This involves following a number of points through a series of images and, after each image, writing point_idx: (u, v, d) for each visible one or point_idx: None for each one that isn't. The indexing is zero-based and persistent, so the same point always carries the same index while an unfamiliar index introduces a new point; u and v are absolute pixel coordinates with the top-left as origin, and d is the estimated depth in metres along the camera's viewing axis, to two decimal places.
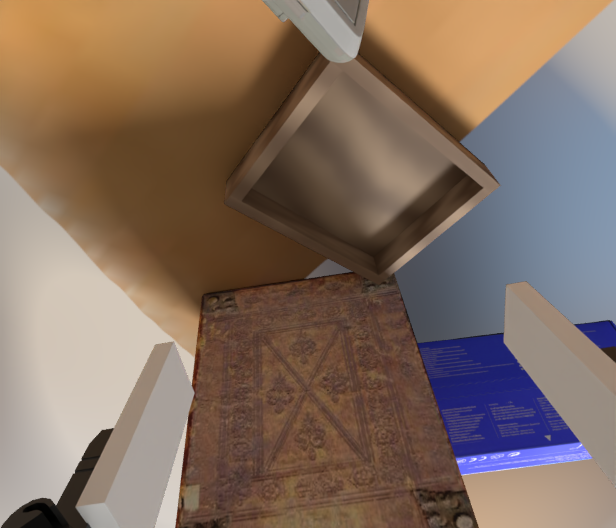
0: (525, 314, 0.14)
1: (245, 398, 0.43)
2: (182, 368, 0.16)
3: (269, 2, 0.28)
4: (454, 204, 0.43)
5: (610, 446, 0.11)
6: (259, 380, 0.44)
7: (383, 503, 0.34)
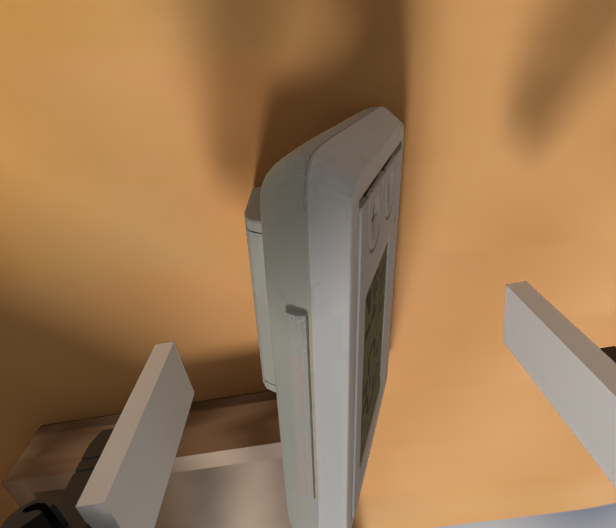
0: (526, 314, 0.14)
1: None
2: (182, 368, 0.16)
3: (266, 365, 0.19)
4: None
5: (610, 446, 0.11)
6: None
7: None
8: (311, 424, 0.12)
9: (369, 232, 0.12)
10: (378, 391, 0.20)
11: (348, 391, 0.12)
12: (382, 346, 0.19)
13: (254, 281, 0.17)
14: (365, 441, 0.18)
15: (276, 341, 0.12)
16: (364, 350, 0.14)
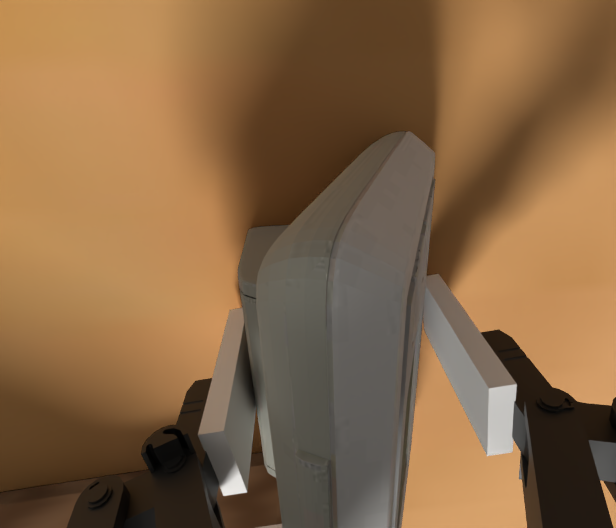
0: (432, 303, 0.16)
1: None
2: None
3: (268, 449, 0.15)
4: None
5: (479, 414, 0.12)
6: None
7: None
8: None
9: (413, 324, 0.08)
10: (405, 472, 0.17)
11: None
12: (410, 420, 0.16)
13: (251, 353, 0.14)
14: None
15: (283, 480, 0.08)
16: None
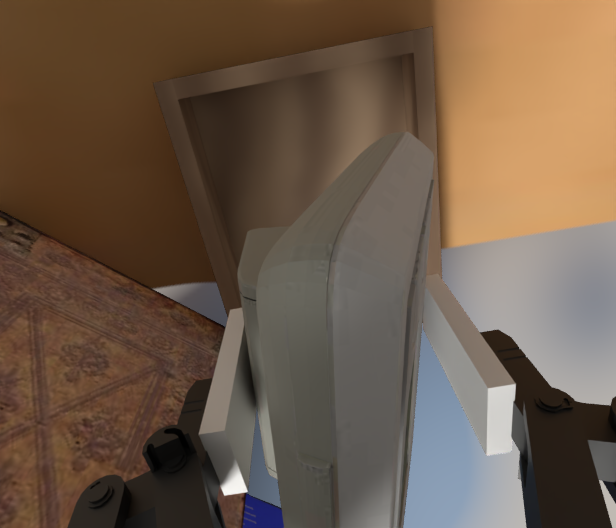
0: (431, 303, 0.16)
1: None
2: None
3: (269, 451, 0.15)
4: None
5: (478, 414, 0.12)
6: None
7: None
8: None
9: (414, 326, 0.08)
10: (406, 473, 0.17)
11: None
12: (410, 421, 0.16)
13: (252, 355, 0.13)
14: None
15: (284, 482, 0.08)
16: None
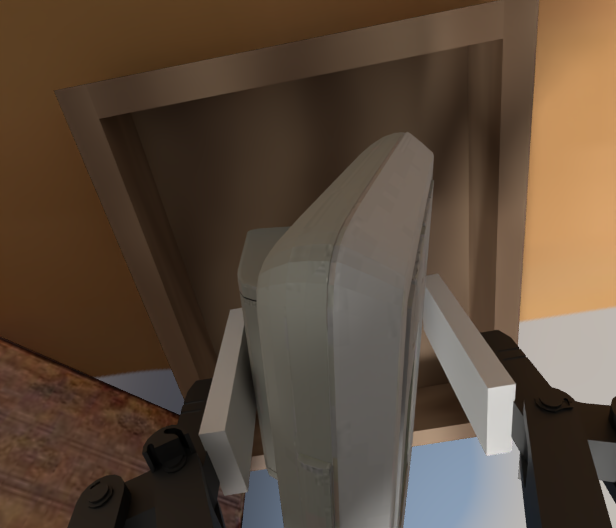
0: (431, 303, 0.16)
1: None
2: None
3: (269, 451, 0.15)
4: (428, 415, 0.24)
5: (478, 414, 0.12)
6: None
7: None
8: None
9: (414, 326, 0.08)
10: (406, 473, 0.17)
11: None
12: (410, 421, 0.16)
13: (252, 356, 0.13)
14: None
15: (284, 483, 0.08)
16: None
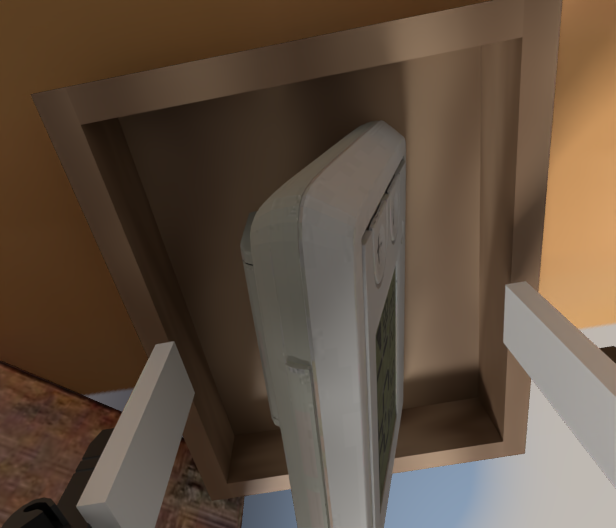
0: (525, 314, 0.14)
1: None
2: (182, 368, 0.16)
3: (274, 401, 0.18)
4: (435, 436, 0.22)
5: (609, 446, 0.11)
6: None
7: None
8: (323, 481, 0.11)
9: (375, 267, 0.10)
10: (395, 421, 0.19)
11: (362, 444, 0.11)
12: (396, 374, 0.18)
13: (255, 315, 0.16)
14: (384, 481, 0.16)
15: (279, 393, 0.11)
16: (377, 389, 0.13)
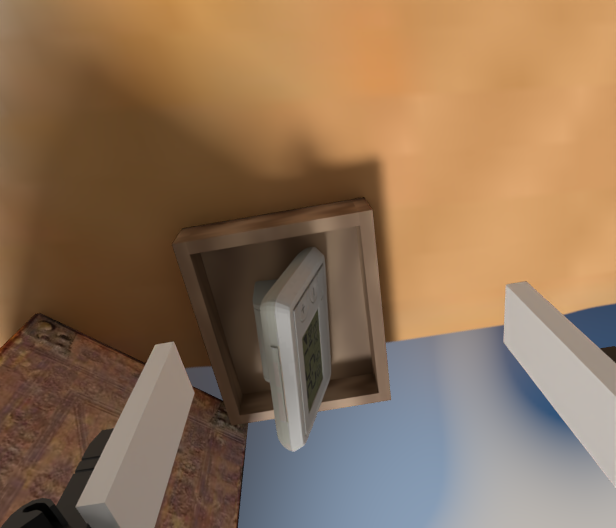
0: (526, 314, 0.14)
1: (3, 467, 0.29)
2: (182, 368, 0.16)
3: (265, 369, 0.39)
4: (347, 391, 0.44)
5: (610, 446, 0.11)
6: (38, 453, 0.31)
7: None
8: (282, 388, 0.33)
9: (300, 315, 0.32)
10: (322, 380, 0.40)
11: (295, 374, 0.32)
12: (321, 357, 0.40)
13: (258, 330, 0.37)
14: (312, 402, 0.38)
15: (268, 357, 0.32)
16: (305, 359, 0.34)
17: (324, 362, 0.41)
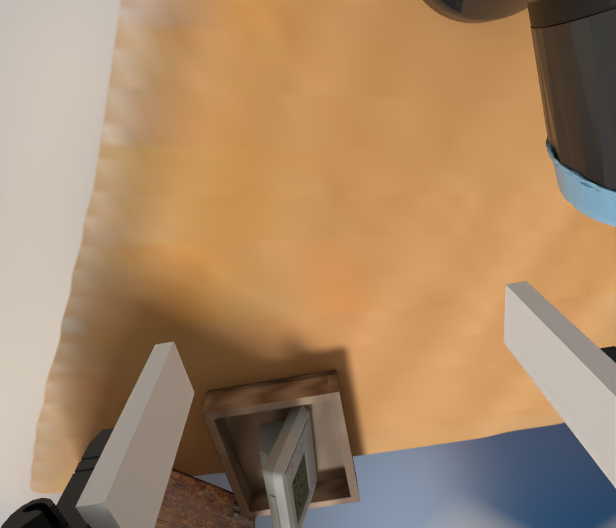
0: (526, 314, 0.14)
1: None
2: (182, 368, 0.16)
3: None
4: (328, 494, 0.60)
5: (610, 446, 0.11)
6: None
7: None
8: (279, 518, 0.49)
9: (290, 472, 0.48)
10: (308, 493, 0.56)
11: (287, 510, 0.48)
12: (308, 479, 0.56)
13: (262, 465, 0.53)
14: (301, 515, 0.54)
15: (268, 499, 0.48)
16: (294, 493, 0.50)
17: (310, 480, 0.56)
